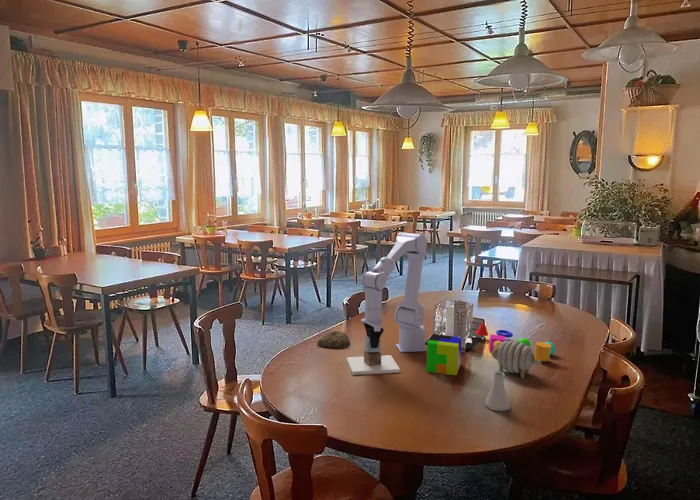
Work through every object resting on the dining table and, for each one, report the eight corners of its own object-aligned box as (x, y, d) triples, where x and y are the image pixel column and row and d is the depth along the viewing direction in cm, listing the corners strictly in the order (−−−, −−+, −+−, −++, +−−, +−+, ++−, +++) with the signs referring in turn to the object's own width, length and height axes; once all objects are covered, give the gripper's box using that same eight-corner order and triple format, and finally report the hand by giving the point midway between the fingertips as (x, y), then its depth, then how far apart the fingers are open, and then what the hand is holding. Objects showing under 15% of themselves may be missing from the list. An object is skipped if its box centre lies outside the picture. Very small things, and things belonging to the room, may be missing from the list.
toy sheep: (496, 363, 186) (497, 332, 184) (545, 374, 177) (547, 342, 175) (485, 372, 178) (486, 341, 176) (536, 385, 168) (538, 351, 166)
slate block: (377, 347, 184) (377, 336, 183) (380, 351, 179) (380, 340, 178) (364, 347, 183) (364, 336, 182) (367, 352, 178) (367, 340, 178)
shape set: (561, 372, 182) (564, 352, 181) (458, 357, 187) (461, 338, 186) (544, 344, 211) (547, 326, 210) (455, 331, 216) (458, 314, 215)
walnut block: (375, 359, 185) (375, 348, 184) (381, 364, 181) (381, 353, 180) (363, 361, 183) (364, 350, 182) (369, 366, 179) (369, 354, 178)
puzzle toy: (460, 364, 184) (461, 337, 183) (456, 375, 175) (457, 346, 173) (431, 361, 188) (432, 334, 186) (426, 371, 178) (427, 343, 177)
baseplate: (390, 358, 190) (390, 355, 189) (399, 372, 177) (399, 369, 177) (346, 360, 187) (346, 357, 187) (352, 375, 174) (352, 371, 174)
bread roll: (346, 350, 198) (346, 337, 197) (314, 347, 201) (314, 335, 200) (353, 339, 211) (353, 327, 210) (323, 337, 213) (323, 325, 212)
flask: (481, 401, 156) (482, 369, 155) (504, 400, 157) (506, 368, 155) (489, 412, 149) (491, 379, 148) (514, 411, 150) (516, 378, 148)
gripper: (358, 301, 185) (357, 338, 187) (365, 313, 171) (365, 353, 173) (377, 301, 186) (377, 337, 188) (387, 312, 172) (386, 352, 174)
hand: (372, 345), depth 181 cm, fingers closed on slate block, 4 cm apart
